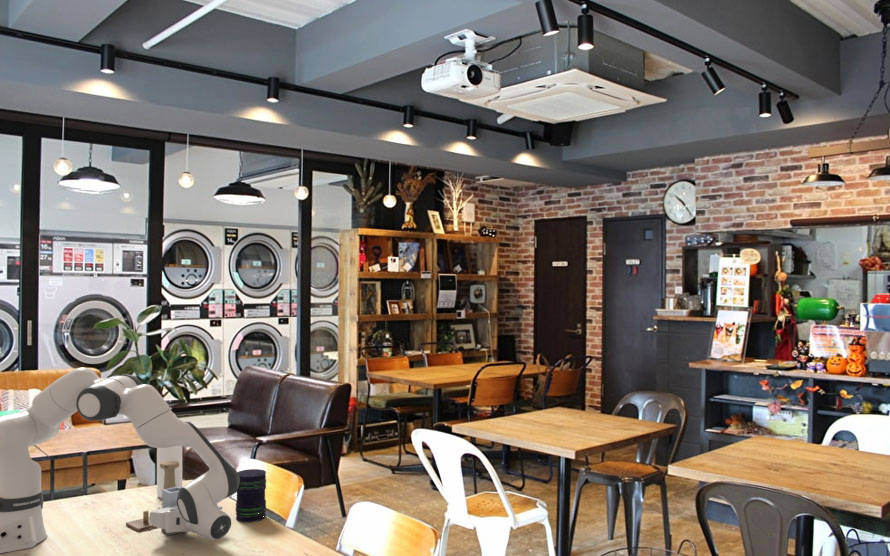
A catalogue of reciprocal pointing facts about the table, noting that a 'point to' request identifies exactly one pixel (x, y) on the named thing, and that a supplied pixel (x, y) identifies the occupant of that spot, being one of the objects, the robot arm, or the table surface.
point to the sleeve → (169, 500)
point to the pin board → (141, 523)
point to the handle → (169, 473)
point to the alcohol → (165, 456)
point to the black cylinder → (251, 496)
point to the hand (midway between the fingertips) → (172, 506)
